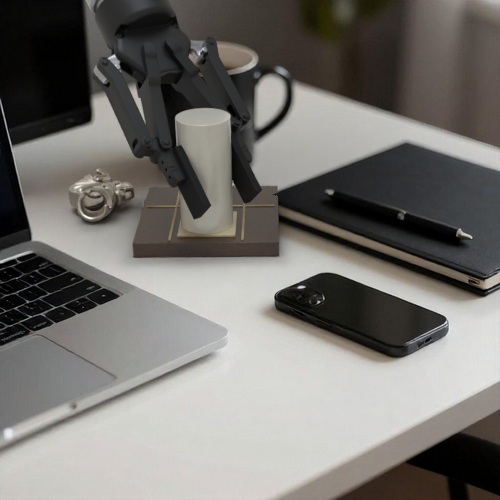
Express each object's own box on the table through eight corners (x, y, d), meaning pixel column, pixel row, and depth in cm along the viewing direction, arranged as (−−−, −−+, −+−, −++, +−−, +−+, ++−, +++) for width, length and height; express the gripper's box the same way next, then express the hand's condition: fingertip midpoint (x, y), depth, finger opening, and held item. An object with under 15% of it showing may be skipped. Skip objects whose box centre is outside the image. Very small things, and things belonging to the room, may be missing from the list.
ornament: (136, 221, 96) (134, 189, 94) (69, 226, 95) (65, 194, 94) (133, 192, 103) (131, 161, 102) (71, 196, 102) (68, 165, 101)
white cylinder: (234, 211, 94) (231, 107, 89) (232, 234, 89) (229, 125, 84) (183, 212, 94) (177, 108, 89) (178, 234, 89) (172, 125, 84)
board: (277, 198, 101) (277, 183, 100) (279, 256, 88) (279, 240, 88) (149, 199, 101) (148, 185, 101) (133, 257, 89) (132, 241, 88)
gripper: (190, 10, 100) (285, 197, 95) (34, 37, 90) (132, 246, 86) (216, -34, 94) (320, 164, 89) (52, -11, 84) (159, 213, 79)
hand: (228, 204), depth 87 cm, fingers closed on white cylinder, 5 cm apart
